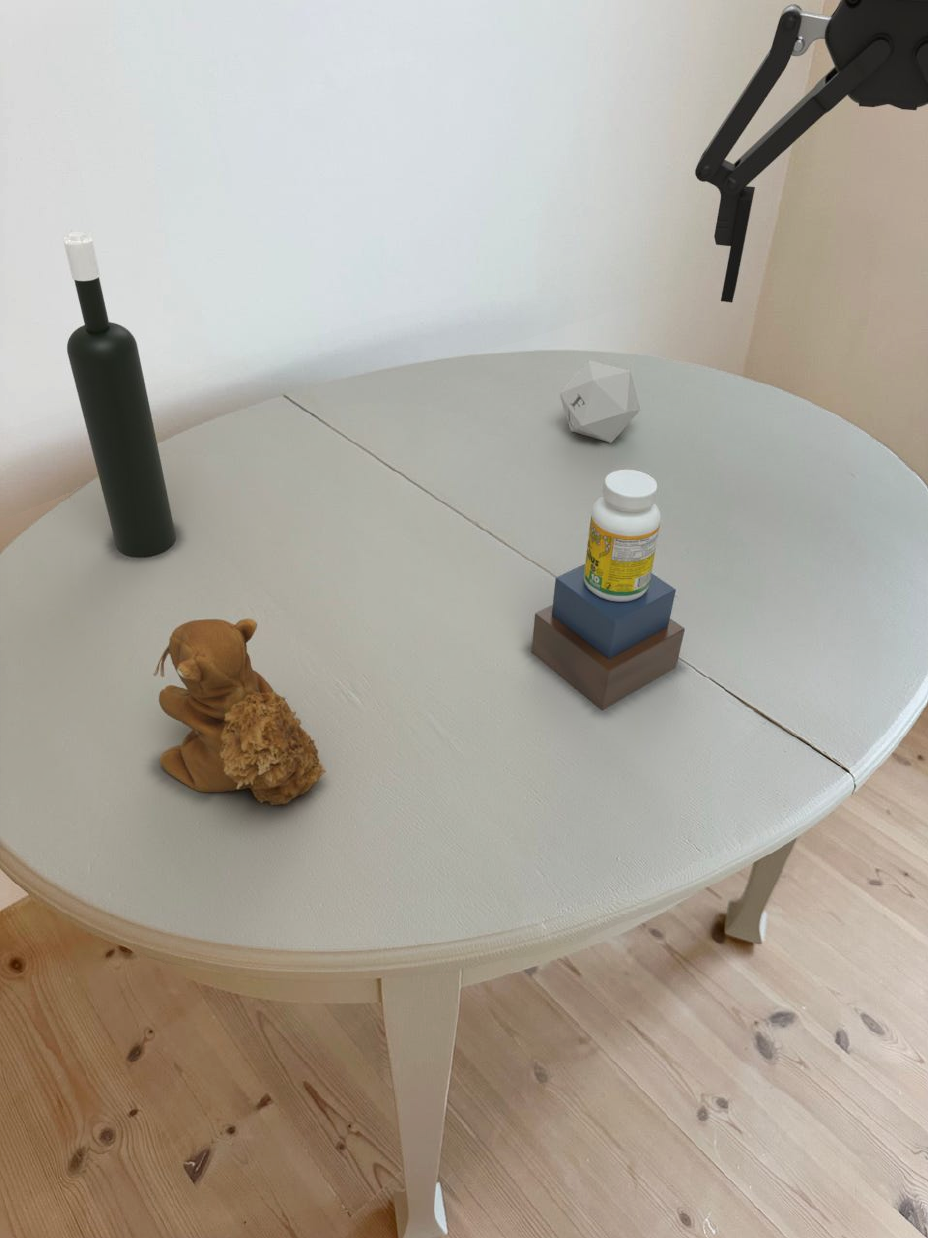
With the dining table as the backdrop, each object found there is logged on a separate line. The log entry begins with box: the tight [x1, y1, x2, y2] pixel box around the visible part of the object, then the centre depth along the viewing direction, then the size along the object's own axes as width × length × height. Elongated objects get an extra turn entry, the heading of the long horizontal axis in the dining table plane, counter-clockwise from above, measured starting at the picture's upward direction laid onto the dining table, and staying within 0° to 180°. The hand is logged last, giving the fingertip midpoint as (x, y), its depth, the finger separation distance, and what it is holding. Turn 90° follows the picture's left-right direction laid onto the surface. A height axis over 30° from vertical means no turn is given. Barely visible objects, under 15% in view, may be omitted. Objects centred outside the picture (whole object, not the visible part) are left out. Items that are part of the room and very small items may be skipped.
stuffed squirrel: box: [153, 618, 327, 806], centre depth 69 cm, size 10×14×13 cm
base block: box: [531, 604, 686, 711], centre depth 82 cm, size 9×9×4 cm
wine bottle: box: [63, 230, 177, 559], centre depth 86 cm, size 6×6×30 cm
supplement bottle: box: [584, 469, 662, 602], centre depth 75 cm, size 5×5×10 cm
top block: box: [552, 563, 677, 659], centre depth 80 cm, size 7×7×4 cm
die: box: [558, 359, 641, 444], centre depth 113 cm, size 8×9×10 cm
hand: (833, 307), depth 63 cm, fingers open, 13 cm apart
